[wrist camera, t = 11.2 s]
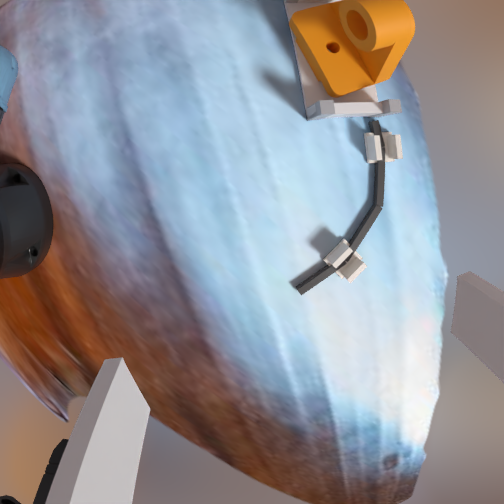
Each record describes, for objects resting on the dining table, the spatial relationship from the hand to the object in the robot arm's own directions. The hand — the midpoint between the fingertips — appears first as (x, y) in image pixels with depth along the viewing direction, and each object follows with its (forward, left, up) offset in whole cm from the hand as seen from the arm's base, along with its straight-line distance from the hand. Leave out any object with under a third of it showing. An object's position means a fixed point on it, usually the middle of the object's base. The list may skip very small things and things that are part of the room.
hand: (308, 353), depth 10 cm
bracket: (+12, +18, -25) cm, 33 cm away
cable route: (+11, -1, -25) cm, 28 cm away
